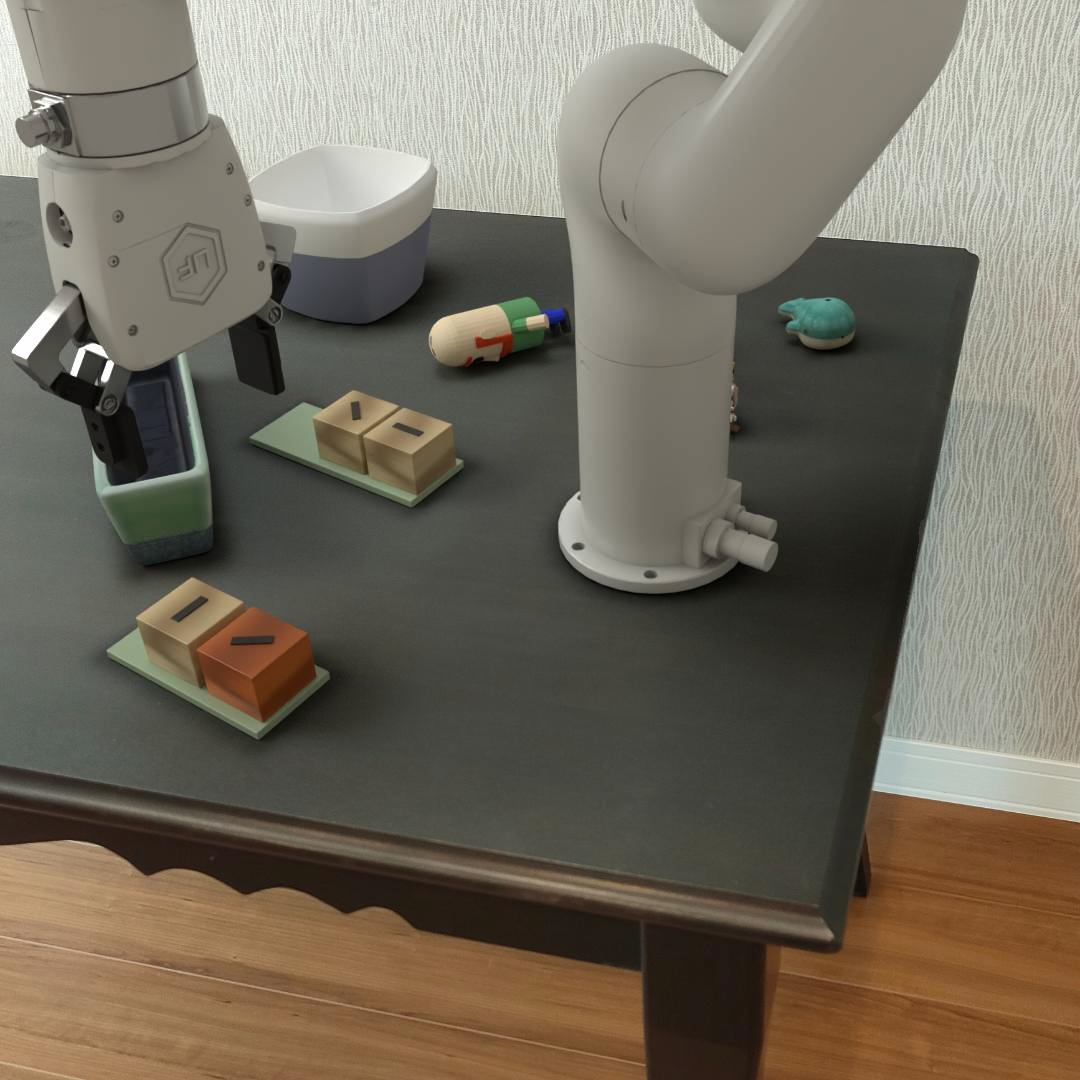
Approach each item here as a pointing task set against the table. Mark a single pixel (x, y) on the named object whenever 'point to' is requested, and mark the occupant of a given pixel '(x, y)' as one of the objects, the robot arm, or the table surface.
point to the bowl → (350, 227)
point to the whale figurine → (820, 322)
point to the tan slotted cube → (186, 627)
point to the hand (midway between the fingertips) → (196, 425)
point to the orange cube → (257, 663)
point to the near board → (205, 688)
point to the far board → (300, 445)
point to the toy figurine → (494, 331)
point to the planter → (161, 470)
